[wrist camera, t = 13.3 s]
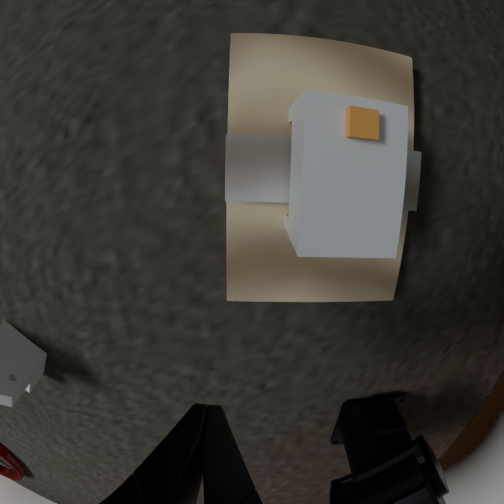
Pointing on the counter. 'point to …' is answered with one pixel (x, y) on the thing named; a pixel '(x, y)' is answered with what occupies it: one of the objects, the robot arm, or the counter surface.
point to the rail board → (279, 165)
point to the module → (346, 175)
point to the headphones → (7, 456)
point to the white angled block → (18, 364)
